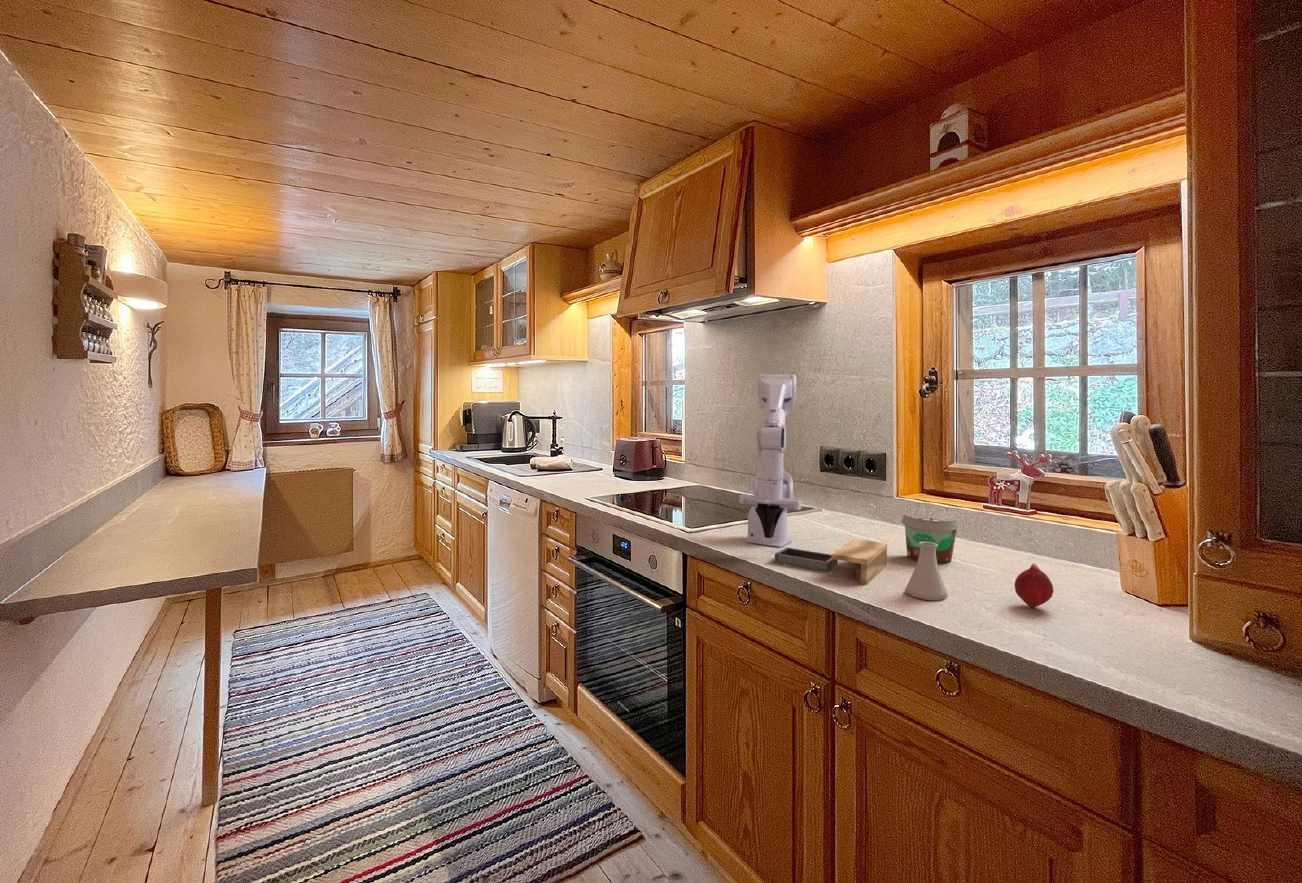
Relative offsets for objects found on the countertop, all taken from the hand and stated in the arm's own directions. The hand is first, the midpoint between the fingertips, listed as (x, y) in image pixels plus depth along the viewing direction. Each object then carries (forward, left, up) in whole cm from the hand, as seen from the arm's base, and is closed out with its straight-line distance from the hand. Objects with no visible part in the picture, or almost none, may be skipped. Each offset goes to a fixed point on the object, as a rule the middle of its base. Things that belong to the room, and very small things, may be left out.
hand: (768, 537), depth 138 cm
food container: (+31, +19, -5) cm, 36 cm away
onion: (+52, -2, -5) cm, 52 cm away
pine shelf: (+20, +1, -5) cm, 21 cm away
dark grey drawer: (+9, 0, -5) cm, 10 cm away
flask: (+35, -6, -5) cm, 36 cm away
